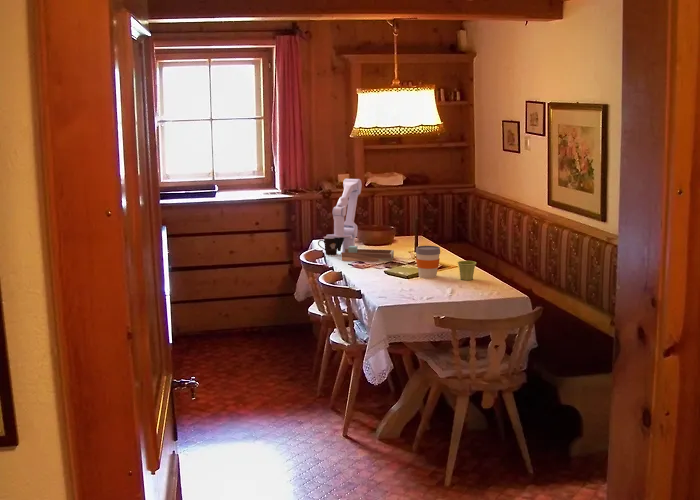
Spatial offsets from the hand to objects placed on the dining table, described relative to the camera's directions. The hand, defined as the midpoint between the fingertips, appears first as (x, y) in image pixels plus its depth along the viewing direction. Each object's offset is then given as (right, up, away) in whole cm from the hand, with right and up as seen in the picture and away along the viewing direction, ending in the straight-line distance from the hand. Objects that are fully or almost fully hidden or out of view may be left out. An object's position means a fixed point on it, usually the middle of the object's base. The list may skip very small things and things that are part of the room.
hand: (339, 250), depth 490 cm
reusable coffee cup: (+46, -13, -51) cm, 70 cm away
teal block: (+8, -2, -1) cm, 8 cm away
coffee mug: (-6, -2, +11) cm, 13 cm away
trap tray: (+16, -5, -4) cm, 18 cm away
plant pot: (+65, -15, -58) cm, 89 cm away
